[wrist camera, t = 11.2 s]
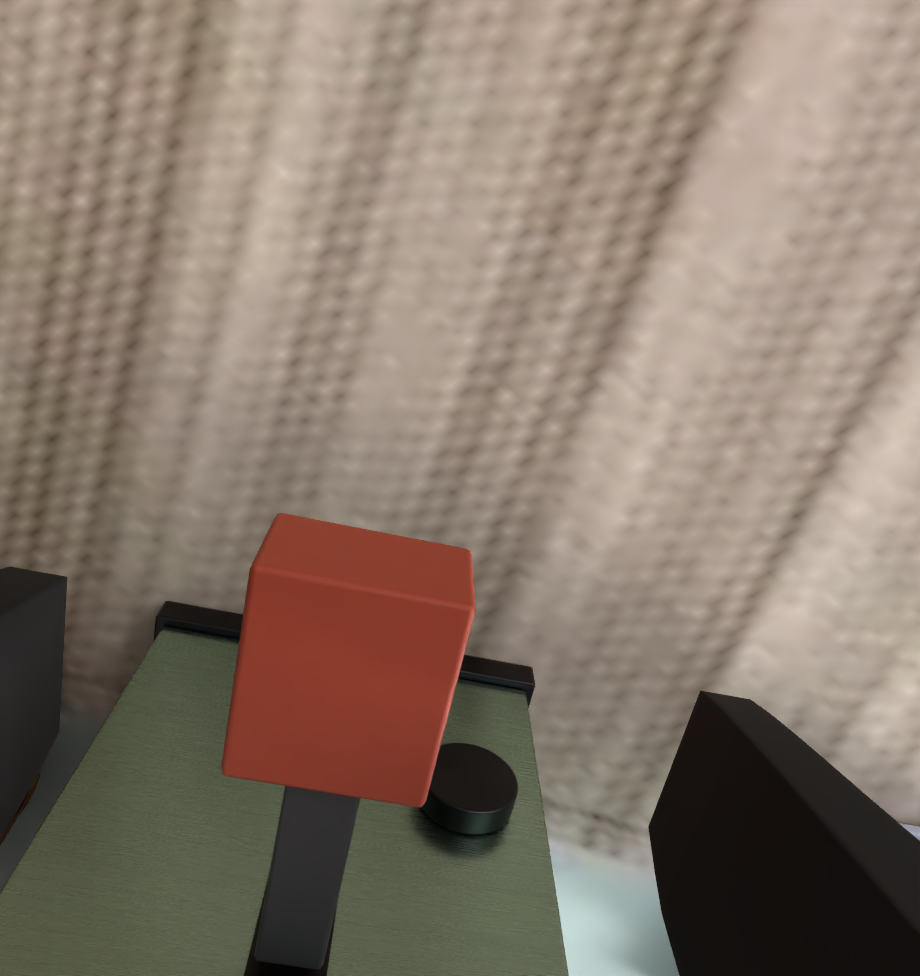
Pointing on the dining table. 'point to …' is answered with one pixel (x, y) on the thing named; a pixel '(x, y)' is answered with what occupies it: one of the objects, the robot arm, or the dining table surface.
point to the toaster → (251, 837)
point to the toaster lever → (340, 700)
